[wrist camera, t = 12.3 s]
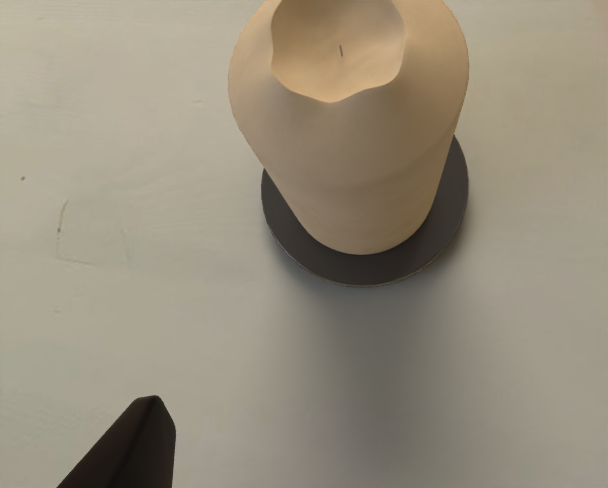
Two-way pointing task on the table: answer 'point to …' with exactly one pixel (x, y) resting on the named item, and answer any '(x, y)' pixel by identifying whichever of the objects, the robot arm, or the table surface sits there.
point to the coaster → (383, 264)
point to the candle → (351, 111)
